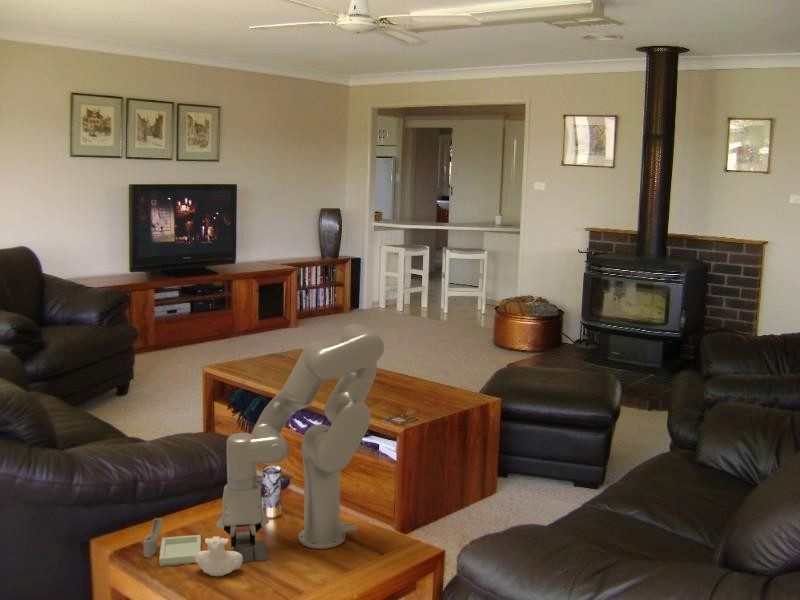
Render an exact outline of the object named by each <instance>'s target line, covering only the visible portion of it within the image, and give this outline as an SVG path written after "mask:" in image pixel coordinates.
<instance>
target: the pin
mask: <svg viewBox="0 0 800 600" xmlns="http://www.w3.org/2000/svg"><path fill="white" fill-rule="evenodd" d="M235 529H236V545H239V544H250V525H237V526H236V528H235Z"/></svg>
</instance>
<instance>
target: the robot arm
mask: <svg viewBox="0 0 800 600" xmlns="http://www.w3.org/2000/svg"><path fill="white" fill-rule="evenodd" d="M384 351H385V343H384V340H383V338H382V337H381V336H380V335H379V334H378V333H377V332H376V331H373V330H371V329H369V328H368V327H366V326H364V325H362V324H360V323H350V324H347V325H346V326H345V327H344V328H343V330H342V332H341V334H340V343H338V344H335V345H331V344H329V343H327V342H325V341H322V340H314V341H313V340H312V341H310V342H309V343H308V344H306V346H305V347H304V349H303V351H302V352H301V354H300V356H299V358H298V360H297V361H296V363H295V365H294V367H293V369H292V371H291V372H290V375H288V378H287V380H286V381H285V384H283V385H284V386H283V387H282V388H281V390H280V391H279V392H277V394H276V395H275V396H274V397H273V398H272V399H271V400H270V401H269V403H268V404H267V405H266V406H265V407H264V409H263V410H262V412H261V414H260V415H259V417H258V418H257V419H258V420H257V421H256V423H255V424H254V427H253V430H252V432H251V433H249V432H238V433H233V434H230V435H229V436H228V437H227V440H226V474H227V475H226V480H227V481H226V482H227V483H226V484H225V485H224V487H223V494H222V512H221V514H220V516H219V518H218V519H217V522H216V524H215V525H216V527H217V528H218V529H221V530H223V531H224V532H226V533H227V534H228V535H229V537H230V546H231V548H233V551H235V545H236V531H235V529H236V526H237V525H250V528H251V530H250V544H251V543H253V546H254V545H255V541H256V535H257V533H258V531H260V529H262V527H264V526H266V525H268V524H269V522H270V519H269V517H268V516H267V515H266V513H265V512H264V510H263V498H262V490H261V484H260V482H263V475H259V474H258V464H270V465H271V464H278V463H281V462H283V461H285V459H286V458H287V457H288V455H289V450H290V448H289V447H290V446H289V444H288V442H287V440H286V439H285V437H284V436H283V435H282V431H283V429H284V427H285V426H286V424H287V422H288V421H289V419H290V418H291V417H292V416H293V415H294V414H295V413H296V412H297V411H300V410H304V409H306V408H308V407H310V406H311V405H312V403H314V400H315V399H316V396H317V395H318V392H319V391H320V390H321V389H320V388H321V387H322V385H323V383H324V382H325V381H334V380H337V379H338V381H337V383H336V384H335V387H334V388H333V390H332V392H331V393H330V396H329V397H328V398H327V401H326V402H325V406H324V415H325V417H326V418H327V420H328V421H329V422H330V426H328V425H326V424H320V423H318V424H314V425H312V426H310V427H309V428H308V429H306V431H305V432H304V434H303V435H302V440H301V457H302V463H303V491H304V492H303V496H304V497H303V507H304V509H303V511H304V513H303V516H304V517H303V520H304V525H303V526H304V529H302V530H300V532H299V533H298V542H299V543H301V545H302V546H305V547H307V548H311V549H319V550H322V549H323V550H325V549H326V550H327V549H331V548H335V547H338V546H339V545H341V544H343V543H344V541H345V540H346V534H347V533H357V532H358V526H357V524H352V522H351V521H346V522H343V521H342V520H341V519H340V518H341V517H340V513H341V512H340V511H341V509H340V508H341V506H340V502H341V501H340V499H341V497H340V495H341V493H340V491H341V490H340V489H341V487H340V484H341V478H340V477H341V471H343V470H344V469H345V468H346V467H347V466H348V465H349V463H350V461H351V460H352V458H353V456H354V455H355V453H356V451H357V450H358V448H359V446H360V444H361V442H362V441H363V439H364V437H365V435H366V433H367V431H368V429H369V426H370V423H371V411H370V409H369V407H368V406H367V404H366V403H365V400H366V398H367V396H368V394H369V392H370V390H371V388H372V385H373V384H374V381H375V379H376V375H377V371H378V370H377V368H378V366H377V365H378V363H377V361H379V360H380V359H381V357H382V356H383V354H384Z"/></svg>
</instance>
